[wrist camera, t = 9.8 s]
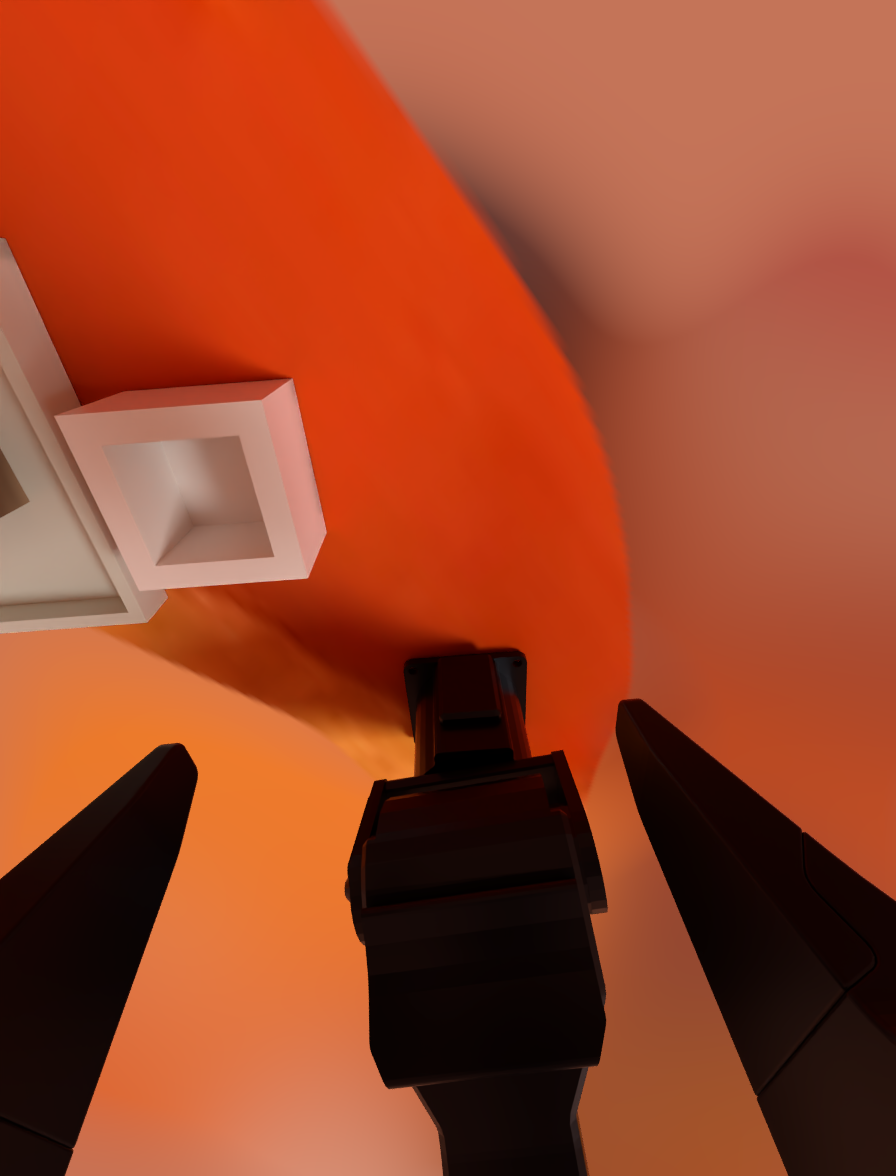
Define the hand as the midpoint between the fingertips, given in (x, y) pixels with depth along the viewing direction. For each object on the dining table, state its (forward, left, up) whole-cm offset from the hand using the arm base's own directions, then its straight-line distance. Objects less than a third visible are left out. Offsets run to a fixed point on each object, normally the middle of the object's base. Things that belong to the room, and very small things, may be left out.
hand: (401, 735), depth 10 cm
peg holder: (+2, +7, -13) cm, 15 cm away
